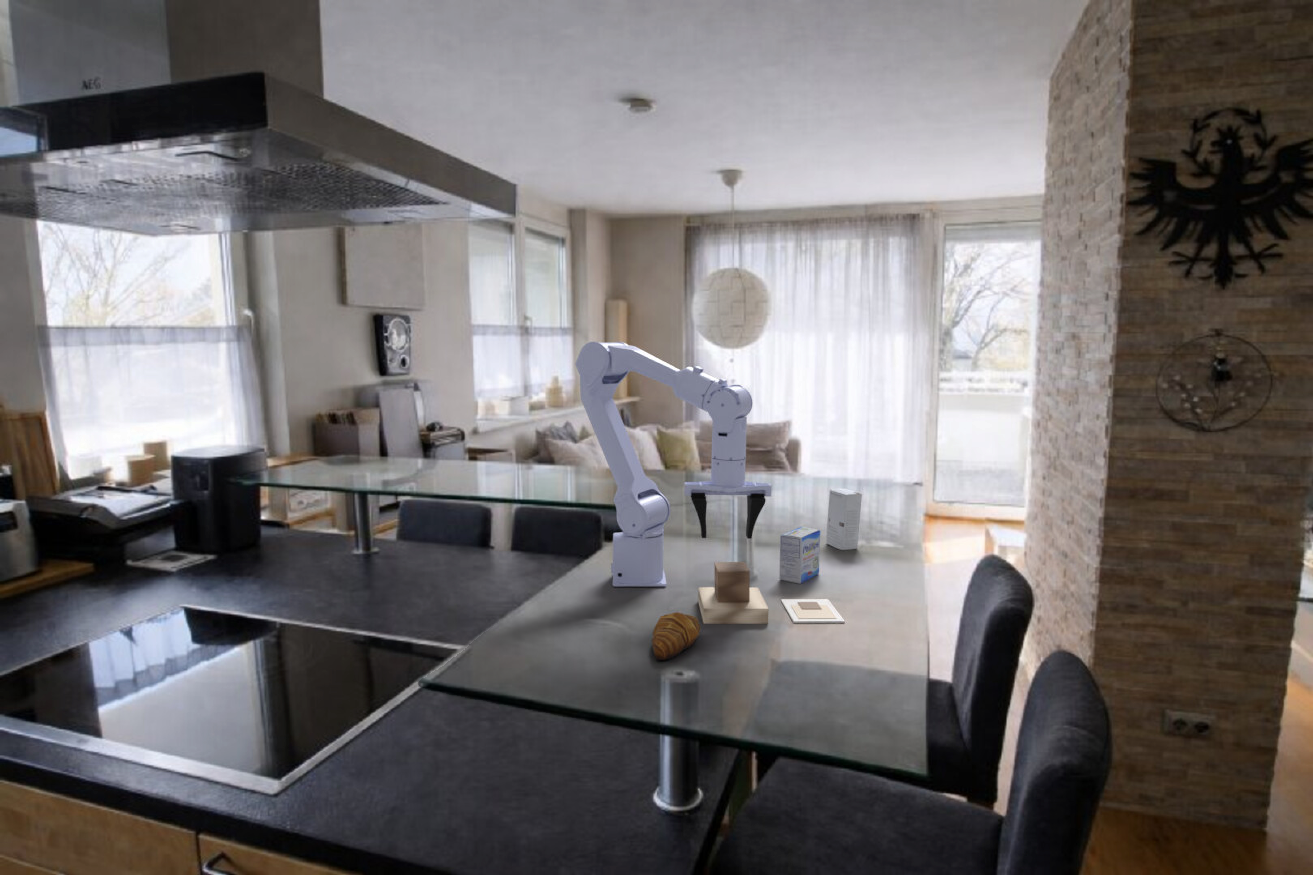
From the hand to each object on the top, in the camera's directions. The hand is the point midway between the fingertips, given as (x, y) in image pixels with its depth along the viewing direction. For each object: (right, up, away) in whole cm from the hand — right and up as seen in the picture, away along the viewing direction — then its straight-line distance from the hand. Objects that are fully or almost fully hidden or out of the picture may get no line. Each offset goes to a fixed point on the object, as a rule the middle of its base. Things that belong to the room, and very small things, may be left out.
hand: (726, 536), depth 128 cm
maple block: (0, -12, -6) cm, 13 cm away
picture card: (+13, -11, -6) cm, 18 cm away
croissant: (-9, -13, -20) cm, 25 cm away
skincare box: (+28, -7, +33) cm, 44 cm away
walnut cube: (0, -9, -7) cm, 11 cm away
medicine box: (+15, -9, +12) cm, 21 cm away
